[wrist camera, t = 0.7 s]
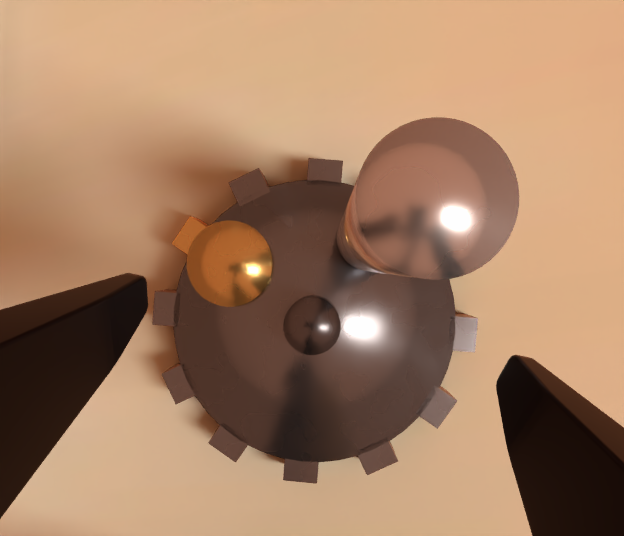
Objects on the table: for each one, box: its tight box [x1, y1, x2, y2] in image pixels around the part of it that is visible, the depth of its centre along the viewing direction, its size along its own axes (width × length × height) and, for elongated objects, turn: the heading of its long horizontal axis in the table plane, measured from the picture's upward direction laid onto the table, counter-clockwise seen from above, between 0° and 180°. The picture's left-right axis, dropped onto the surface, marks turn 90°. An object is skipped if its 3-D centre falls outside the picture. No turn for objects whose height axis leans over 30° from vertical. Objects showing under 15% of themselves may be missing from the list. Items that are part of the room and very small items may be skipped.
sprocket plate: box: [153, 158, 478, 483], centre depth 19 cm, size 17×17×3 cm
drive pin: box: [337, 118, 519, 280], centre depth 13 cm, size 4×4×11 cm
